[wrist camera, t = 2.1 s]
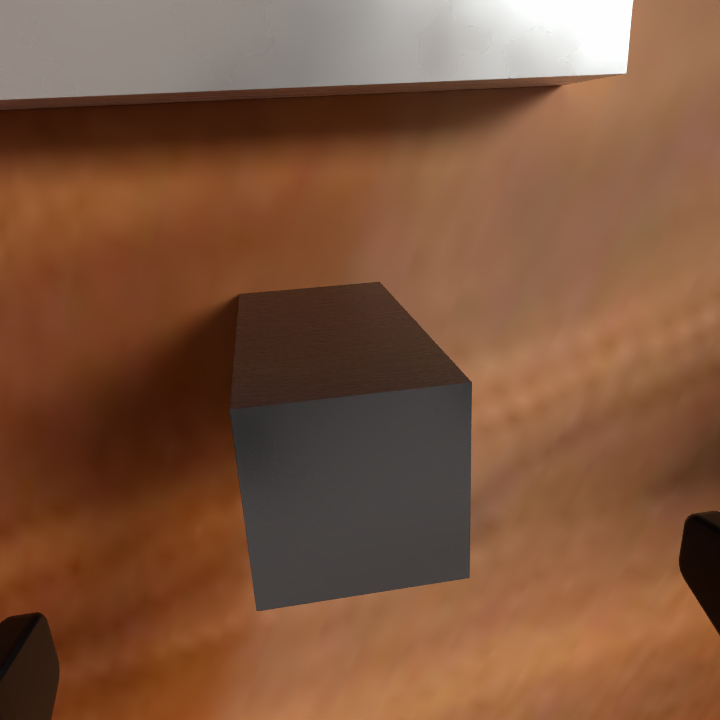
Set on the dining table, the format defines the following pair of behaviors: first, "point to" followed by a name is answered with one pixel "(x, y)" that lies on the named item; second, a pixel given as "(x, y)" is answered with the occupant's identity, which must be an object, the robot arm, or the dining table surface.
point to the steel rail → (297, 48)
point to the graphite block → (347, 446)
